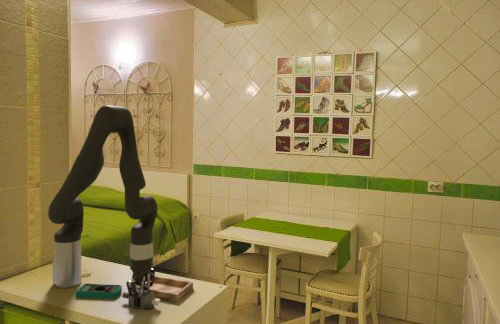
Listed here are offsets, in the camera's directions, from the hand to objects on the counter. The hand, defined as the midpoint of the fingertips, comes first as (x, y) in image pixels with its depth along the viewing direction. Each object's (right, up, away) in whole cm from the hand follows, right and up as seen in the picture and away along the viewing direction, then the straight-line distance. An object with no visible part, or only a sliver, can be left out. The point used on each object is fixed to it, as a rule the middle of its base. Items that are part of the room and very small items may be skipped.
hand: (141, 303), depth 135 cm
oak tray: (+4, 0, +12) cm, 13 cm away
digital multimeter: (-18, 0, +8) cm, 19 cm away
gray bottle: (0, 0, 0) cm, 1 cm away
